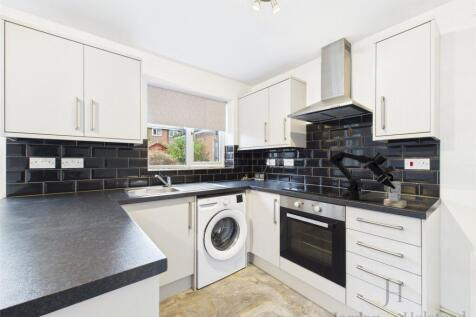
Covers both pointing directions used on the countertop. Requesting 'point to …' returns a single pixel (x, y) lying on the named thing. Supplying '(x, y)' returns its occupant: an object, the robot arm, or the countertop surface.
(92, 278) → the countertop surface
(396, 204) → the birch block
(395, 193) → the ink box
